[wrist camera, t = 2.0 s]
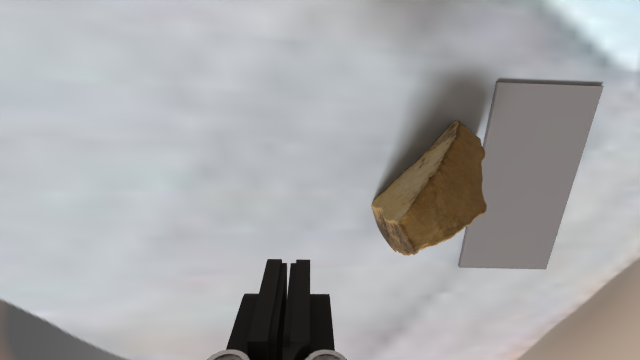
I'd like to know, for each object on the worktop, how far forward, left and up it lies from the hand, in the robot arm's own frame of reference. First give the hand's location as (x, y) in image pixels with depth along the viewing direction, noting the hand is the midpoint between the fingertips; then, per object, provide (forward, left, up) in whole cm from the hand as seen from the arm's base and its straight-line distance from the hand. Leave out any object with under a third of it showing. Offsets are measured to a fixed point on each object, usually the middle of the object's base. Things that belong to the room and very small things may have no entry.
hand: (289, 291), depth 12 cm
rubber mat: (-18, 0, -14) cm, 23 cm away
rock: (-10, 0, -14) cm, 17 cm away
